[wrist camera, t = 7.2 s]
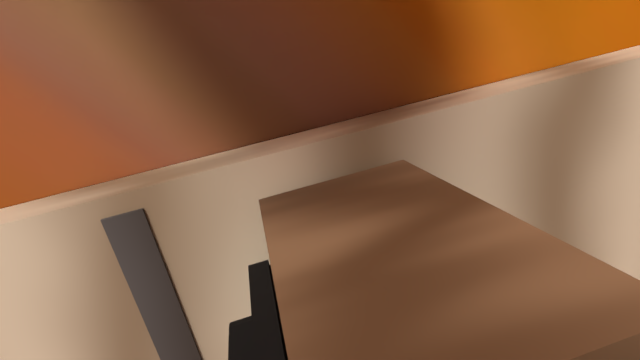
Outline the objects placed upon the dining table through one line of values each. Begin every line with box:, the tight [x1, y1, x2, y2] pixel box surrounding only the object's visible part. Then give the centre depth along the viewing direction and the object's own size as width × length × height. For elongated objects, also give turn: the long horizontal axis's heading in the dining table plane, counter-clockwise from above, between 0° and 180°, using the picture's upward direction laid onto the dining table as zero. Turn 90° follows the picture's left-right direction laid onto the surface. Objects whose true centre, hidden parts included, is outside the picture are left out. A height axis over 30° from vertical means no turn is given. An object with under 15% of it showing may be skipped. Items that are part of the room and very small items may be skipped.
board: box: [0, 45, 640, 360], centre depth 13 cm, size 36×16×2 cm, turn 104°
